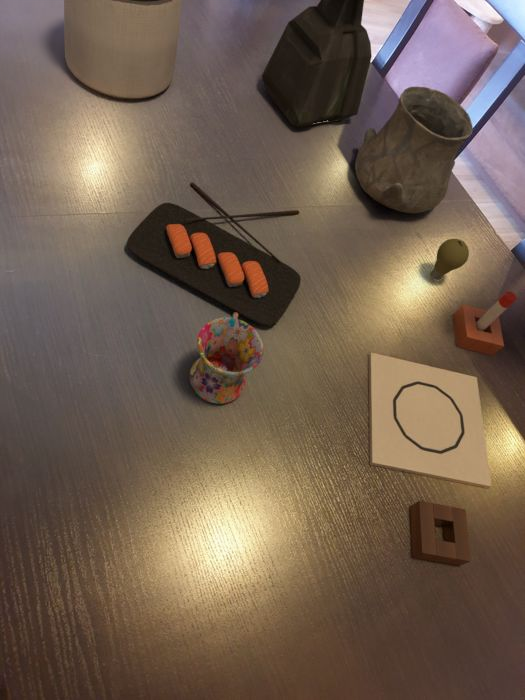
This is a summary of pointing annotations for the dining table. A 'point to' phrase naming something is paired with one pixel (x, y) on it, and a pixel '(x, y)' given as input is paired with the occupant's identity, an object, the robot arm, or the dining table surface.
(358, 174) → the vessel
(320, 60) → the bottle
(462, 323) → the pen holder
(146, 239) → the sushi plate
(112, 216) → the dining table surface
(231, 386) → the mug
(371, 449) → the board
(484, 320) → the marker
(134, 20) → the planter
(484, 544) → the dining table surface
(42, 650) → the dining table surface
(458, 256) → the light bulb
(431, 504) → the marker stand
